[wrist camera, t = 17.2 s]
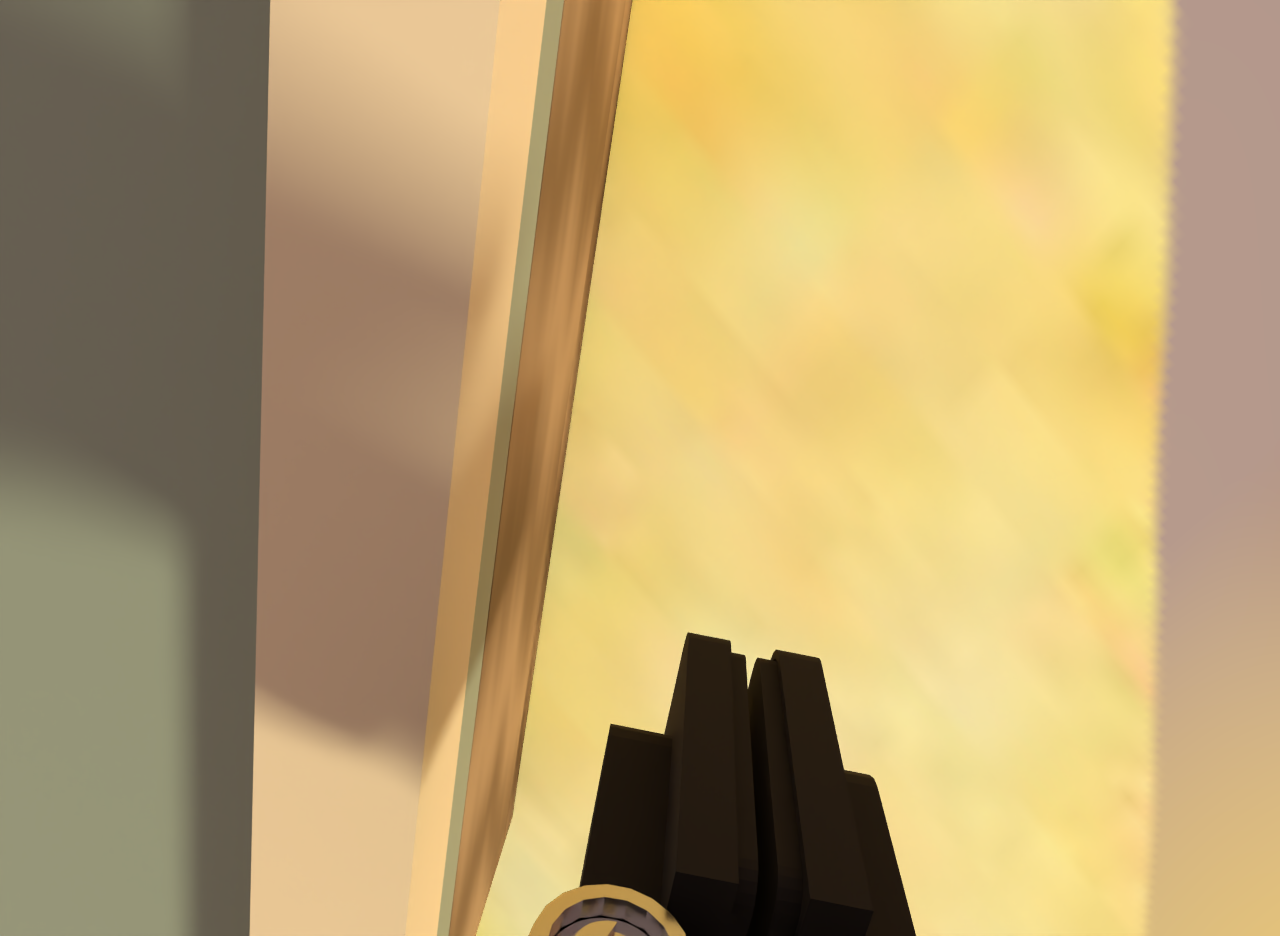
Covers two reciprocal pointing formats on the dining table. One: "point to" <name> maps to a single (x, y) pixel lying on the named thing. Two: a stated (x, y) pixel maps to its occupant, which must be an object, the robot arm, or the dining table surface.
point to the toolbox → (539, 427)
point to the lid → (254, 450)
